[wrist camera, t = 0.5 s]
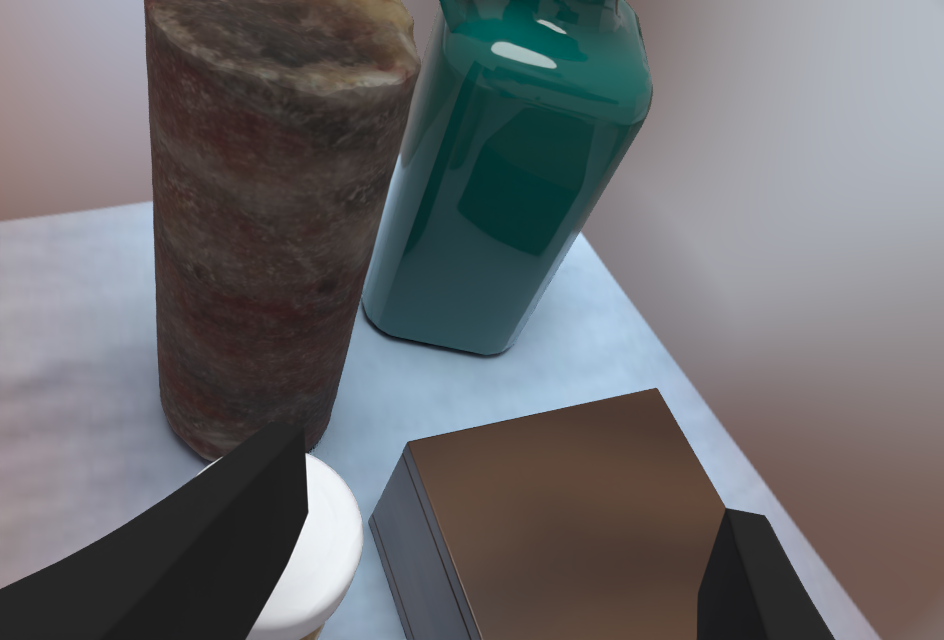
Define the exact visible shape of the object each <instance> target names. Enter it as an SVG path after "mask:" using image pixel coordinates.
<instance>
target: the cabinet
mask: <svg viewBox="0 0 944 640" xmlns="http://www.w3.org/2000/svg"><path fill="white" fill-rule="evenodd" d="M725 509H726V507H725V505H724V503H723V502H722V500H721V498H720V496H719V495H718V493H717V491H716V489H715V488H714V486H713V484H712V483H711V481H710V479H709V477H708V476H707V474H706V472H705V470H704V469H703V467H702V465H701V463H700V462H699V460H698V458H697V456H696V455H695V453H694V451H693V449H692V448H691V446H690V444H689V442H688V441H687V439H686V437H685V436H684V434H683V432H682V430H681V429H680V427H679V425H678V423H677V422H676V420H675V418H674V416H673V415H672V413H671V411H670V409H669V408H668V406H667V404H666V402H665V401H664V399H663V397H662V395H661V394H660V392H659V390H658V389H657V388H653V389H649V390H644V391H639V392H635V393H630V394H626V395H621V396H616V397H612V398H607V399H603V400H598V401H593V402H589V403H584V404H579V405H575V406H570V407H566V408H561V409H556V410H552V411H547V412H543V413H538V414H533V415H529V416H524V417H519V418H515V419H510V420H506V421H501V422H496V423H492V424H487V425H482V426H478V427H473V428H469V429H464V430H459V431H455V432H450V433H446V434H441V435H436V436H432V437H427V438H422V439H418V440H413V441H409V442H407V444H406V446H405V448H404V450H403V453H402V455H401V457H400V459H399V461H398V463H397V465H396V467H395V469H394V471H393V473H392V475H391V477H390V479H389V481H388V483H387V485H386V487H385V489H384V491H383V493H382V495H381V497H380V499H379V501H378V503H377V505H376V507H375V510H374V512H373V513H372V515H371V517H370V519H369V524H370V527H371V530H372V533H373V536H374V539H375V542H376V545H377V548H378V551H379V554H380V558H381V561H382V564H383V567H384V570H385V573H386V576H387V579H388V582H389V585H390V588H391V591H392V594H393V597H394V600H395V603H396V606H397V609H398V613H399V616H400V619H401V622H402V625H403V628H404V631H405V634H406V637H407V640H697V600H698V591H699V588H700V585H701V582H702V579H703V576H704V573H705V569H706V566H707V563H708V560H709V557H710V554H711V551H712V548H713V545H714V542H715V539H716V536H717V533H718V530H719V527H720V524H721V521H722V518H723V515H724V512H725Z"/></svg>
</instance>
